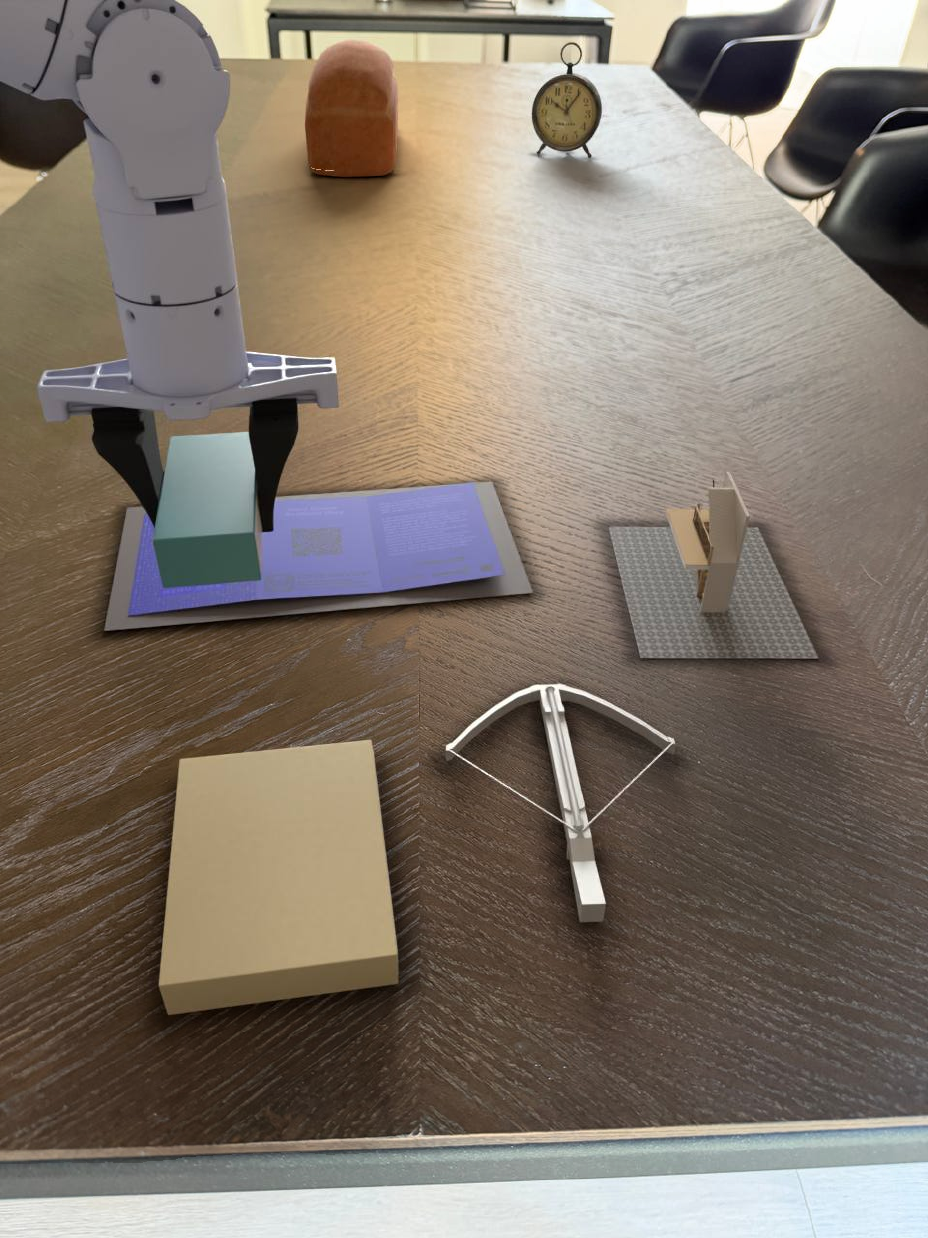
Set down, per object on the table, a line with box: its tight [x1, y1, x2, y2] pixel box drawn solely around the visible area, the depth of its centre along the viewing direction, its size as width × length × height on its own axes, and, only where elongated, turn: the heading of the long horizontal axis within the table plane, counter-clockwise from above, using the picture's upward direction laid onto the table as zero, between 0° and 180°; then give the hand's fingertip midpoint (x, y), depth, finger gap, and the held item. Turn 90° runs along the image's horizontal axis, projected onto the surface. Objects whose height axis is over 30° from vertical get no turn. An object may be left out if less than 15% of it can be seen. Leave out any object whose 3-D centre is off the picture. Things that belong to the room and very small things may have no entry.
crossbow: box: [445, 683, 676, 923], centre depth 51 cm, size 16×13×2 cm
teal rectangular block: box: [152, 431, 262, 588], centre depth 53 cm, size 5×11×3 cm, turn 9°
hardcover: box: [158, 739, 400, 1016], centre depth 47 cm, size 10×13×2 cm
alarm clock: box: [531, 41, 603, 159], centre depth 155 cm, size 11×5×16 cm, turn 77°
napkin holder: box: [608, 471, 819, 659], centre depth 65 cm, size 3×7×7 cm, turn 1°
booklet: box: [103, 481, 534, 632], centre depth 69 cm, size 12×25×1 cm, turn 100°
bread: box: [304, 39, 399, 178], centre depth 154 cm, size 14×33×16 cm, turn 2°
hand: (216, 525), depth 54 cm, fingers closed on teal rectangular block, 5 cm apart
